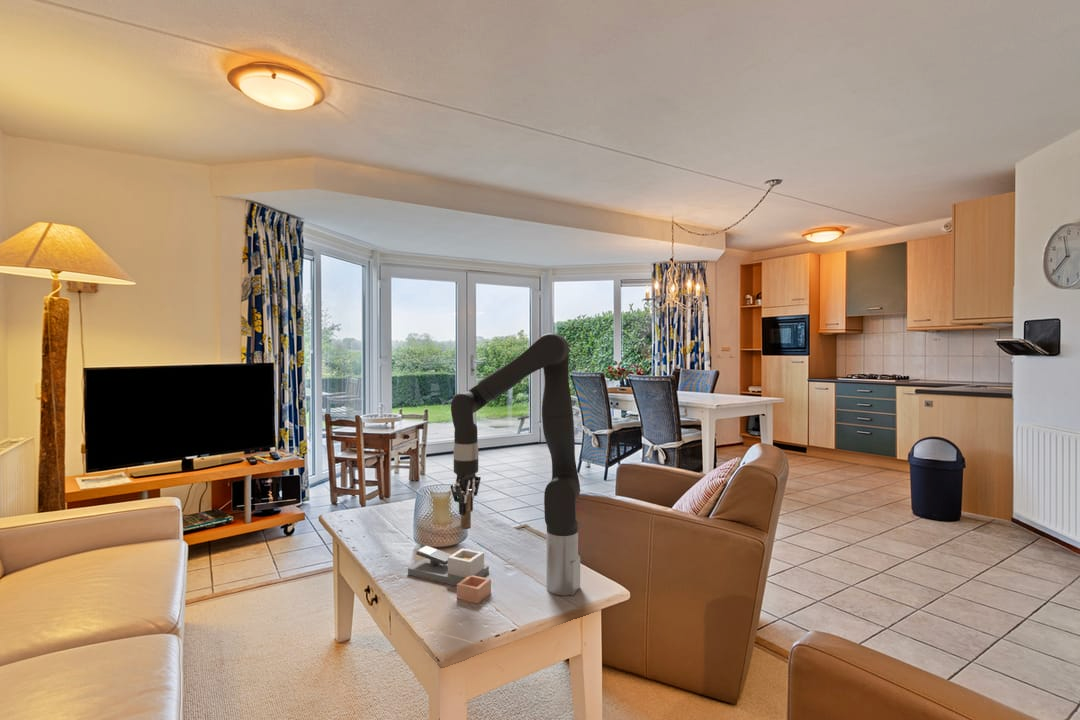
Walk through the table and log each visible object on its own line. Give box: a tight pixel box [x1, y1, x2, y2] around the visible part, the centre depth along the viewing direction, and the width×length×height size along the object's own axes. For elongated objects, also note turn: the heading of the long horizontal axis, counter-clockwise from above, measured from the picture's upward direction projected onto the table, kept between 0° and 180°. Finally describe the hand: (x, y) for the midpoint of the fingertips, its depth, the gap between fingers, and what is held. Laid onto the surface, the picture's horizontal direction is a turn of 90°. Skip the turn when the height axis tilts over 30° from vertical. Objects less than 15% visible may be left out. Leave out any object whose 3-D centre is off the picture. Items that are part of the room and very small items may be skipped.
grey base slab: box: [407, 548, 490, 587], centre depth 164 cm, size 22×12×7 cm, turn 65°
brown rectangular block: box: [460, 491, 472, 530], centre depth 161 cm, size 3×3×11 cm
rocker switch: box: [416, 545, 452, 565], centre depth 166 cm, size 11×5×1 cm, turn 65°
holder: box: [456, 575, 492, 604], centre depth 150 cm, size 7×7×4 cm
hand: (466, 512), depth 161 cm, fingers closed on brown rectangular block, 3 cm apart
